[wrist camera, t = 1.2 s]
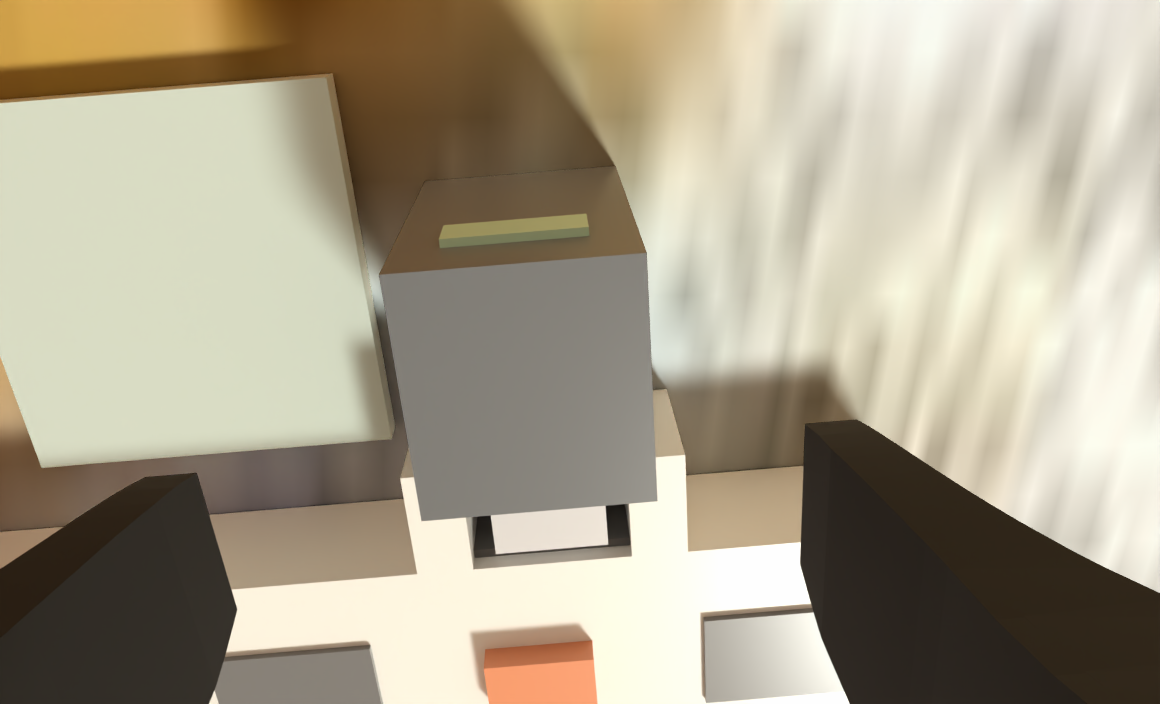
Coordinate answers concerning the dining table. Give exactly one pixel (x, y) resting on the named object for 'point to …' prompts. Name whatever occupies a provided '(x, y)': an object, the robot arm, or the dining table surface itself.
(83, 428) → the coaster
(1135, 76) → the dining table surface
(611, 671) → the power strip
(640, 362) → the block
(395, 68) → the dining table surface
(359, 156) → the dining table surface
